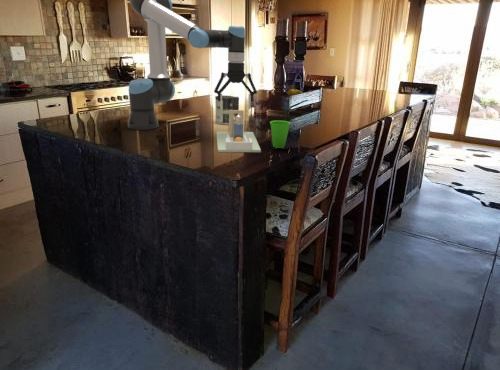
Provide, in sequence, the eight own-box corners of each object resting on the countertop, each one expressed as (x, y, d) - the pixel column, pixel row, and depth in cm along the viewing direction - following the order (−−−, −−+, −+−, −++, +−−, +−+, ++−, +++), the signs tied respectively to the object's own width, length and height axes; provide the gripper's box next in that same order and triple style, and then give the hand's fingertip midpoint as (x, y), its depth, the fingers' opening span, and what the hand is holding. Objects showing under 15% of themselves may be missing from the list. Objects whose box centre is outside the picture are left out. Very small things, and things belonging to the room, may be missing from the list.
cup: (267, 144, 178) (268, 120, 174) (287, 144, 179) (288, 120, 175) (269, 149, 169) (271, 124, 165) (290, 150, 170) (292, 125, 166)
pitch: (217, 152, 164) (218, 120, 159) (216, 133, 193) (216, 106, 189) (260, 152, 166) (262, 121, 161) (252, 133, 195) (253, 107, 191)
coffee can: (235, 121, 222) (236, 96, 217) (231, 125, 212) (231, 98, 207) (218, 119, 224) (218, 94, 219) (212, 123, 214) (212, 97, 209)
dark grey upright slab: (233, 142, 171) (234, 105, 165) (230, 129, 194) (231, 96, 188) (242, 142, 171) (243, 105, 165) (238, 129, 194) (239, 96, 189)
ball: (233, 137, 171) (233, 146, 171) (234, 136, 167) (234, 145, 167) (242, 137, 171) (242, 146, 171) (243, 136, 168) (243, 145, 167)
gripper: (209, 61, 176) (209, 109, 184) (264, 63, 179) (262, 110, 187) (209, 60, 183) (209, 106, 191) (262, 62, 186) (260, 107, 194)
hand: (235, 108), depth 189 cm, fingers open, 13 cm apart
